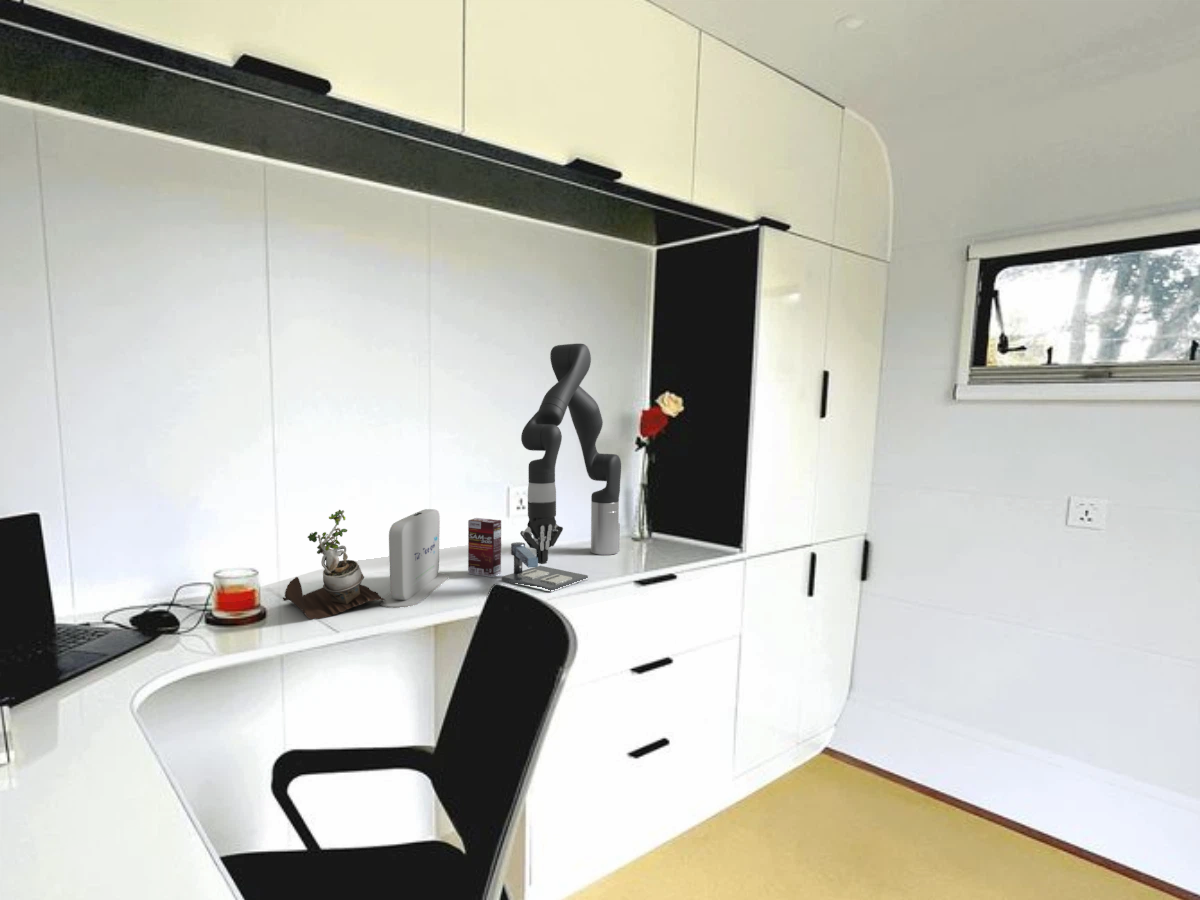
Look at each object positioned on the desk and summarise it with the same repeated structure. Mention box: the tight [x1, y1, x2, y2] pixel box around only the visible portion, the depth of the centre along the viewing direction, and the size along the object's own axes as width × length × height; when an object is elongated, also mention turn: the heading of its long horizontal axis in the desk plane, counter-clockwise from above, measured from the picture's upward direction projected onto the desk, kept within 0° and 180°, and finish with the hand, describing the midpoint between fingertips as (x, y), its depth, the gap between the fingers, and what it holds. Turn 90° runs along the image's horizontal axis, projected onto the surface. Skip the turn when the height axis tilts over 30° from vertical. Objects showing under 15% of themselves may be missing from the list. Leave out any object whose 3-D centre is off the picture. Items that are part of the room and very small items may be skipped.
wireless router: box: [379, 508, 450, 609], centre depth 166 cm, size 31×10×20 cm, turn 176°
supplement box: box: [467, 517, 502, 578], centre depth 183 cm, size 9×5×16 cm, turn 68°
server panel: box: [501, 556, 589, 591], centre depth 177 cm, size 16×19×6 cm
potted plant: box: [282, 509, 386, 620], centre depth 150 cm, size 20×19×25 cm
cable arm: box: [510, 541, 539, 569], centre depth 173 cm, size 19×4×3 cm, turn 20°
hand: (542, 563), depth 169 cm, fingers closed
